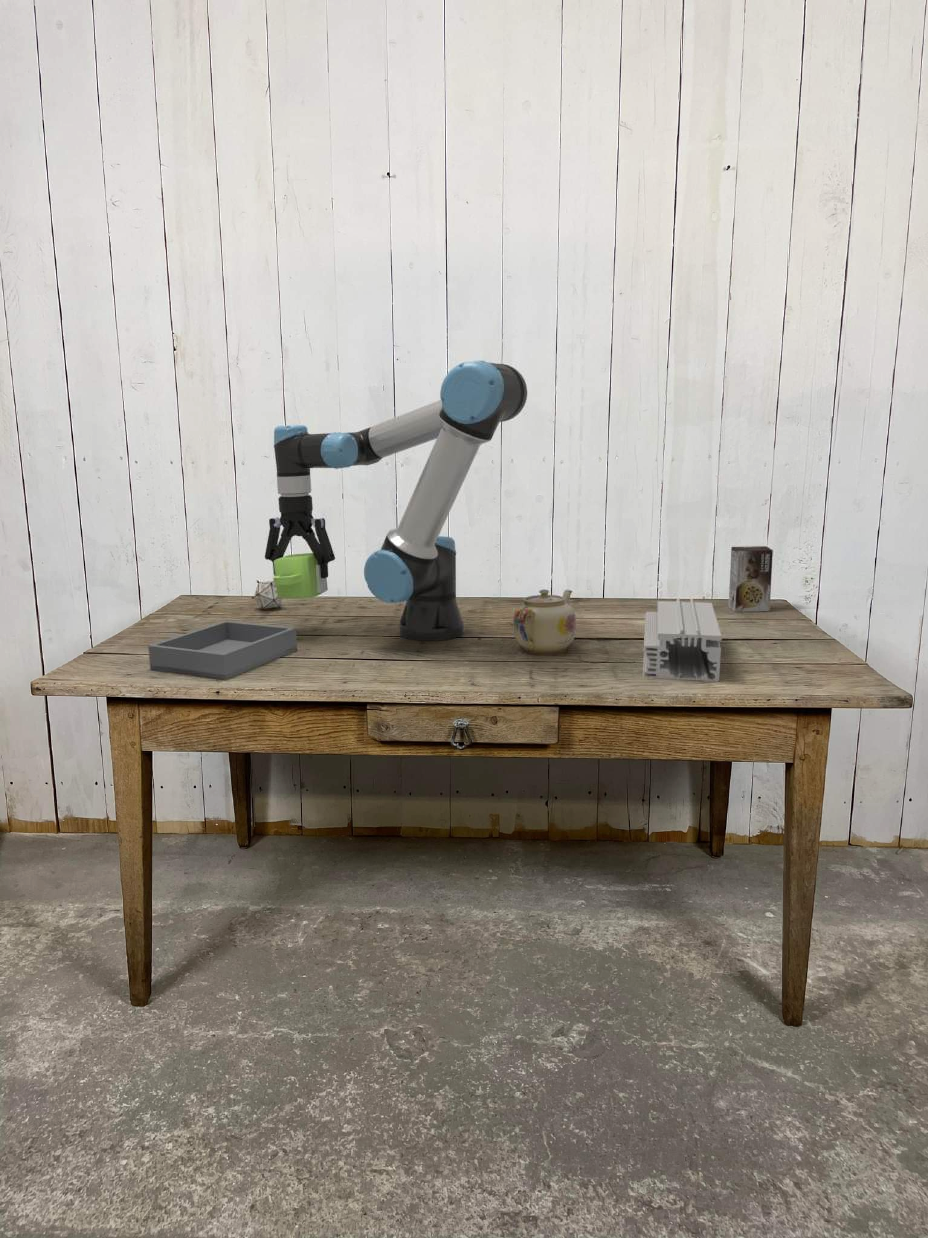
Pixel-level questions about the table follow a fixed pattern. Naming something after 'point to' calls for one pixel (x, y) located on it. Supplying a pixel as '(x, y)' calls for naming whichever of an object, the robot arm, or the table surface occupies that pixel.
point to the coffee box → (750, 579)
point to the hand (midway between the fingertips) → (301, 590)
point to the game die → (267, 595)
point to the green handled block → (296, 576)
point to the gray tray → (222, 649)
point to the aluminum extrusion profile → (682, 642)
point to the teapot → (545, 623)
